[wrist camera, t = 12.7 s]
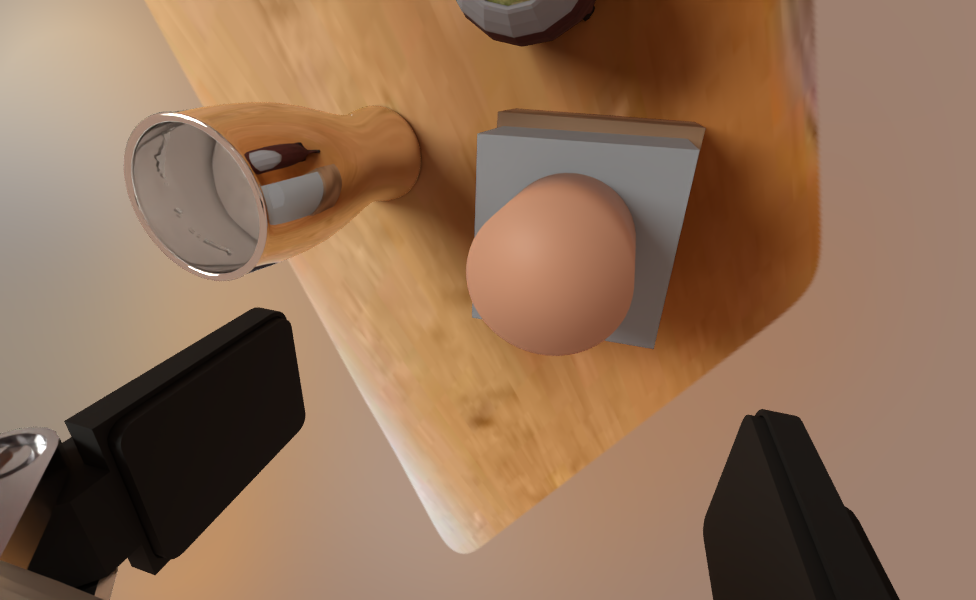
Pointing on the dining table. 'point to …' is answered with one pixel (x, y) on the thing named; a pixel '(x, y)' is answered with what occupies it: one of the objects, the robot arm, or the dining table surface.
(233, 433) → the robot arm
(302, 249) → the beer glass
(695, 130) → the walnut base block
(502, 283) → the peach rounded cylinder
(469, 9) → the mate gourd
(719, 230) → the dining table surface
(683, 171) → the slate top block
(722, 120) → the dining table surface
